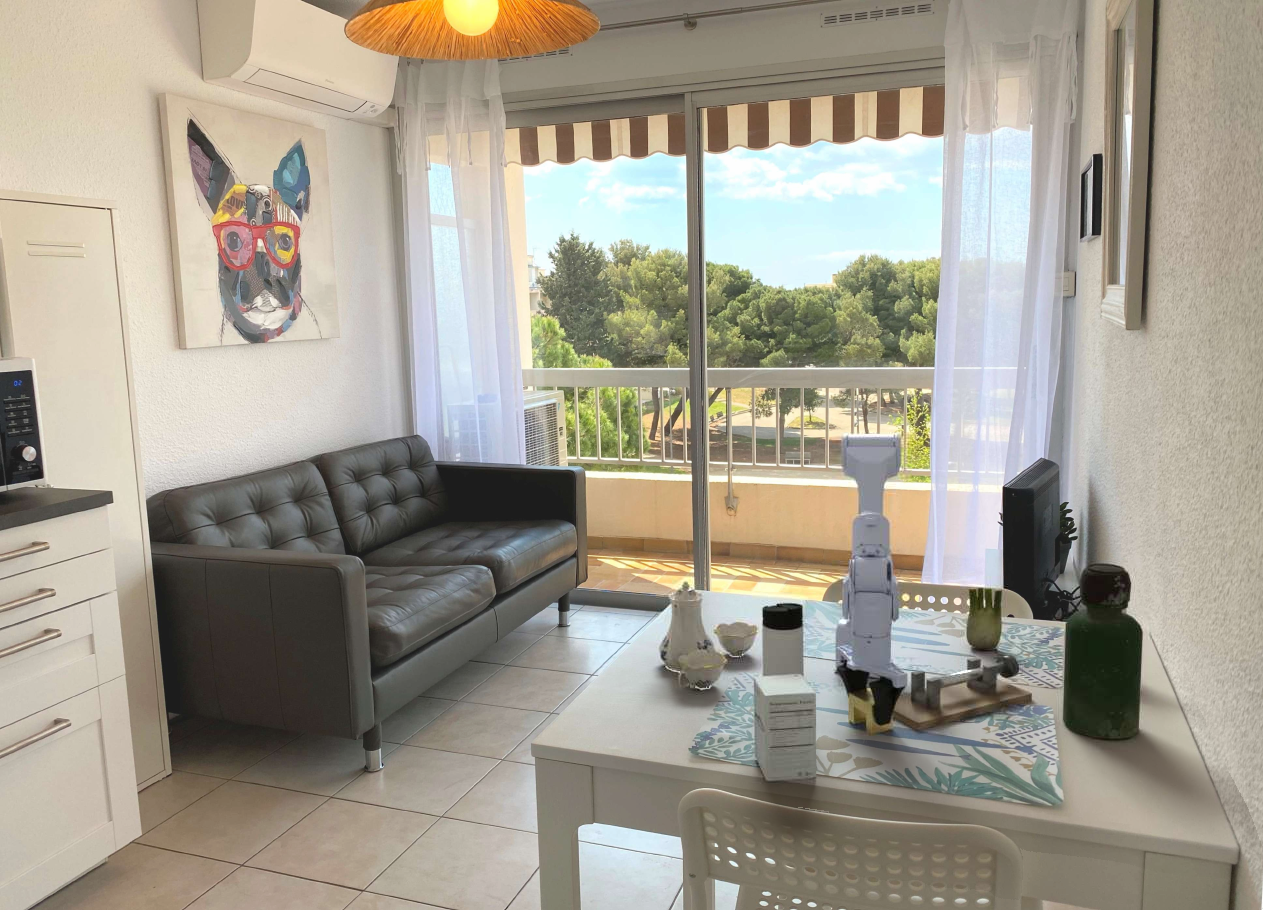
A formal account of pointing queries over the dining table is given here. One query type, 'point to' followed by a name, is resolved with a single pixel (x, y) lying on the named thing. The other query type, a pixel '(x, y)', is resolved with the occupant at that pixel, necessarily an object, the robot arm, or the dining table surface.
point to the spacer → (865, 711)
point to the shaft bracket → (955, 698)
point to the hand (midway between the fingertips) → (870, 716)
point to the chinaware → (700, 640)
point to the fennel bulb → (984, 619)
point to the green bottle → (1103, 657)
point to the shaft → (1005, 668)
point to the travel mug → (782, 639)
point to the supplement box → (785, 727)
